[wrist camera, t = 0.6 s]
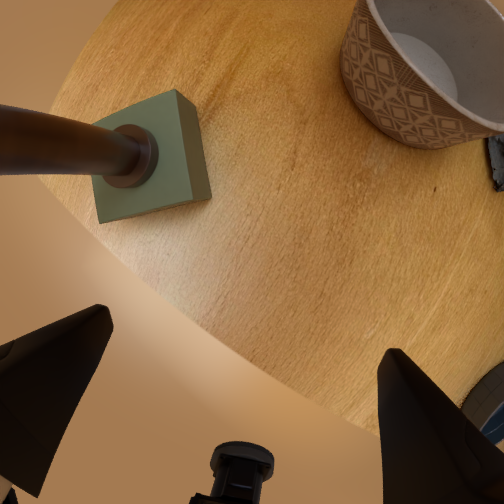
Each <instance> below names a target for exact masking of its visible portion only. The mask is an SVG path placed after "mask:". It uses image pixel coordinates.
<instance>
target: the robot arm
mask: <svg viewBox="0 0 504 504" xmlns="http://www.w3.org/2000/svg"><path fill="white" fill-rule="evenodd" d="M112 332H113V322H112V318H111V315H110V311H109V308H108V307H107V306H104V305H101V304H95V305H93V306H91V307H88V308H86V309H84V310H81V311H79V312H77V313H74V314H72V315H70V316H67V317H65V318H63V319H60V320H58V321H56V322H54V323H51V324H49V325H47V326H44V327H42V328H40V329H38V330H35V331H33V332H31V333H28V334H26V335H24V336H22V337H19V338H17V339H16V340H12V341H10V342H8V343H6V344H4V345H1V346H0V504H18V501H17V497H16V494H15V490H14V489H13V488H12V487H11V486H12V485H13V484H14V485H16V486H17V487H19V488H21V489H22V490H24V491H25V492H27V493H29V494H31V495H32V496H34V497H36V498H38V496H39V494H40V491H41V489H42V486H43V483H44V481H45V478H46V475H47V473H48V470H49V468H50V465H51V463H52V460H53V458H54V455H55V453H56V451H57V448H58V446H59V444H60V441H61V439H62V437H63V435H64V433H65V430H66V428H67V426H68V424H69V422H70V420H71V418H72V416H73V414H74V411H75V409H76V407H77V405H78V403H79V401H80V399H81V397H82V395H83V393H84V392H85V390H86V388H87V386H88V384H89V382H90V380H91V378H92V376H93V374H94V373H95V371H96V368H97V367H98V364H99V362H100V360H101V358H102V355H103V353H104V350H105V348H106V346H107V343H108V341H109V339H110V337H111V334H112ZM377 380H378V419H379V429H380V440H381V453H382V471H383V504H504V453H503V452H502V451H501V450H500V449H499V448H497V447H496V446H495V445H494V444H493V443H492V442H491V441H490V440H489V439H488V438H487V437H486V436H485V435H484V434H483V433H482V432H481V431H480V430H479V429H478V428H477V427H476V426H475V425H474V424H473V423H472V422H471V421H470V420H469V419H468V418H467V417H466V415H465V414H464V413H463V412H462V411H461V410H460V409H459V408H458V407H457V406H456V405H455V404H454V403H453V402H452V401H451V400H450V399H449V397H448V396H447V395H446V394H445V393H444V392H443V391H442V390H441V389H440V388H439V387H438V386H437V385H436V384H435V383H434V382H433V381H432V380H431V379H430V378H429V377H428V376H427V375H426V374H425V373H424V372H423V371H422V370H421V369H420V368H419V367H418V366H417V365H416V364H415V363H414V362H413V361H412V360H411V359H410V358H409V357H408V356H407V355H406V354H405V353H404V352H403V351H402V350H401V349H399V348H389V349H387V351H386V352H385V354H384V356H383V358H382V360H381V362H380V364H379V366H378V370H377ZM271 468H272V464H270V463H266V462H260V461H255V460H250V459H245V458H241V457H236V456H232V455H228V454H224V453H220V454H219V456H218V459H217V463H216V466H215V470H214V473H213V477H215V481H214V484H213V488H212V491H211V494H210V496H206V495H202V494H200V493H196V494H195V496H194V497H191V500H190V502H189V504H259V501H260V494H261V488H262V483H263V481H264V480H265V478H266V476H267V475H268V473H269V471H270V470H271Z"/></svg>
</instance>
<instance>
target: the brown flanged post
mask: <svg viewBox="0 0 504 504" xmlns="http://www.w3.org/2000/svg"><path fill="white" fill-rule="evenodd" d="M158 157H159V150H158V144H157V141H156V139H155V137H154V136H153V134H152V133H151V132H150V131H148V130H147V129H145V128H142V127H140V126H137V125H134V124H125V125H121V126H119V127H117V128H115V129H114V130H109V129H105V128H102V127H98V126H94V125H91V124H87V123H83V122H79V121H76V120H72V119H68V118H64V117H59V116H55V115H51V114H46V113H42V112H37V111H33V110H28V109H23V108H18V107H12V106H6V105H1V104H0V175H23V174H70V175H102V177H103V179H104V180H105V181H106V182H107V183H108V184H109V185H111V186H112V187H115V188H135V187H138V186H140V185H142V184H143V183H145V182H146V181H147V180H148V179H149V178H150V177H151V175H152V174H153V172H154V170H155V168H156V165H157V162H158Z"/></svg>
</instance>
